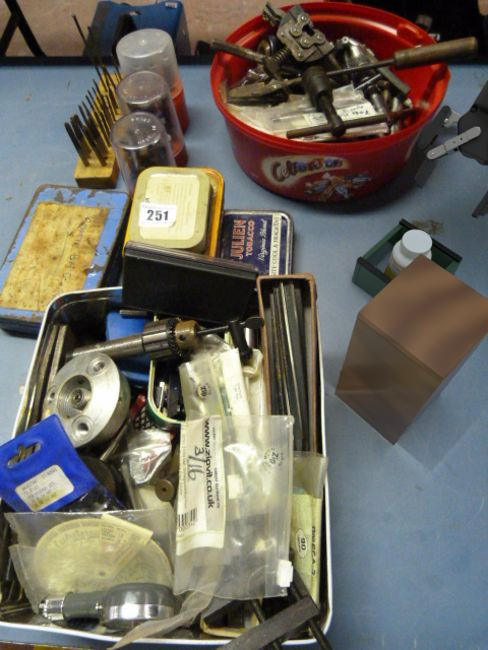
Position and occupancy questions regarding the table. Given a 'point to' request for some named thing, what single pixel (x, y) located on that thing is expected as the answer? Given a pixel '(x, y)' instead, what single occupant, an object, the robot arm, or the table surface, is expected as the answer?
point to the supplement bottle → (408, 251)
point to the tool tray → (365, 265)
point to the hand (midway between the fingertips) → (445, 202)
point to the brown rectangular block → (410, 346)
